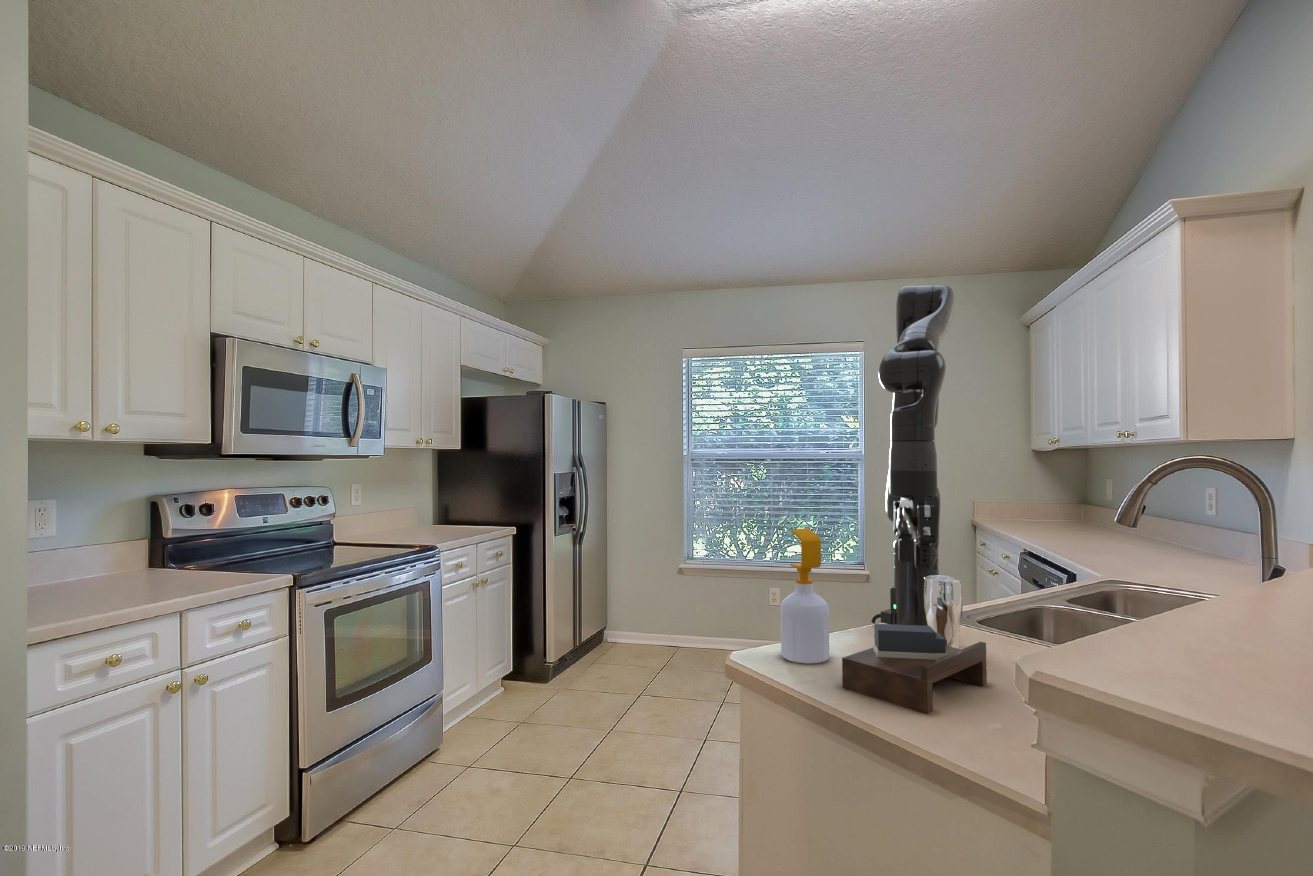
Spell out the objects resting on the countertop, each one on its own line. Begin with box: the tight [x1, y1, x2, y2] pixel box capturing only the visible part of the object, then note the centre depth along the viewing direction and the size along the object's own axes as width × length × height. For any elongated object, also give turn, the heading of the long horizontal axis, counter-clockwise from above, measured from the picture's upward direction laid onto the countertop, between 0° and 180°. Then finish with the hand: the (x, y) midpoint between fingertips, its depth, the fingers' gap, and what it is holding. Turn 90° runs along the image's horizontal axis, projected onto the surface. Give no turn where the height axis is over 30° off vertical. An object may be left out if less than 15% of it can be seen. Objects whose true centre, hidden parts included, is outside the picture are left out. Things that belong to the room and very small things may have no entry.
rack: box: [841, 641, 988, 715], centre depth 111 cm, size 15×20×7 cm
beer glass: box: [924, 574, 964, 649], centre depth 128 cm, size 7×7×15 cm
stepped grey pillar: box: [872, 623, 947, 660], centre depth 112 cm, size 11×4×4 cm, turn 80°
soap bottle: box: [780, 528, 830, 665], centre depth 128 cm, size 9×9×25 cm
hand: (913, 565), depth 111 cm, fingers open, 8 cm apart
